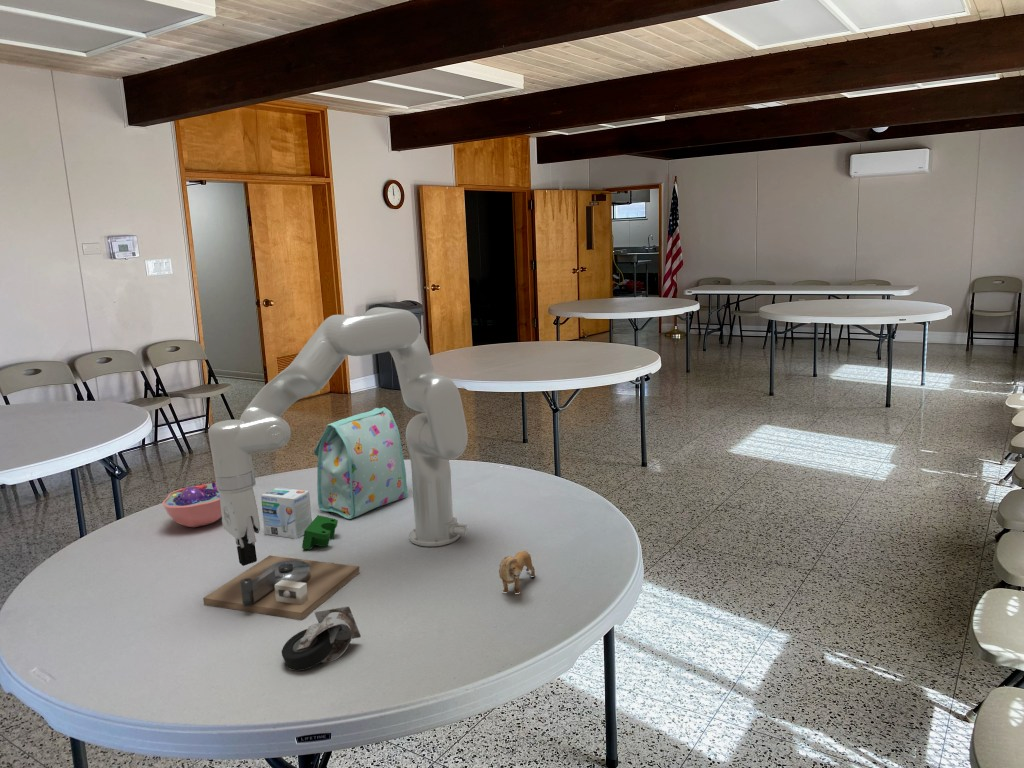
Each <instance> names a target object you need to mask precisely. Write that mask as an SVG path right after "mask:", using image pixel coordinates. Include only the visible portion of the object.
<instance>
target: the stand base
mask: <svg viewBox="0 0 1024 768" xmlns="http://www.w3.org/2000/svg"><path fill="white" fill-rule="evenodd" d="M292 560H297V561H304V562H306V563H308V564H309V566H310V574H311V576H310V578H309V580H307V581H306V582H305V583H302V582H295V581H287V580H281V581H279V582H278V583H276V584H275V589H273V590H271V591H270V592H268V593H267V594H266V595H264V596H263V597H261V598H260V599H258V600H257V601H256V602H254V604H253V605H251V606H247V607H245V606H243V602H242V593H241V584H240V581H241V580H243V579H247V578H250V579H252V580H254V579H255V578H257V577H258V576H260V575H261V574H262V572H263V570H264V569H266V568H267V567H269V566H271V565H273V564H276V563H279V562H284V561H292ZM359 574H360V566H359V565H358V566H357V565H350V564H343V563H335V562H324V561H317V560H309V559H301V558H293V557H286V556H285V557H284V556H278V555H268V556H267V557H264V559H262V560H260V561H258V562H257V563H256V564H253V565H252V566H251V567H249V568H248V569H246V570H245V571H243V572H242V573H240V574H238V575H236V576H235V577H234V578H232V579H231V580H229V581H228V582H225V584H222V585H221V586H220V587H218V588H216V589H214V590H213V591H211V592H210V593H209V594H207V595H205V596H204V597H203V598H202V600H203V601H202V602H203V605H204V606H211V607H215V608H216V607H218V608H224V609H230V610H231V609H232V610H237V611H244V612H249V613H255V614H256V613H257V614H263V615H269V616H275V617H276V616H277V617H281V618H286V619H287V618H289V619H295V620H300V621H302V620H303V619H305V618H306V617H308V616H309V615H310V614H311V613H312V612H313V611H314V610H316V609H317V608H318V607H320V606H321V605H322V604H323V603H324V602H325V601H327V600H328V599H329V598H330V597H332V596H333V595H335V593H336V592H338V591H339V590H341V588H343V587H344V586H345V585H347V584H348V583H349V582H350V581H352V579H354V578H355V577H356V576H357V575H359Z"/></svg>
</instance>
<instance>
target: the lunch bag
mask: <svg viewBox="0 0 1024 768" xmlns="http://www.w3.org/2000/svg"><path fill="white" fill-rule="evenodd" d="M402 447H403V446H402V441H401V435H400V431H399V427H398V425H397V423H396V421H395V418H394V416H393V414H392V411H390V410H389V409H388V408H386V407H385V406H383V407H381V408H379V407H375V408H373V409H372V410H370V411H366V412H362V413H358V414H355V415H352V416H349V417H346V418H343V419H339V420H337V421H334V422H332V423H328V424H327V425H326V427H325V428H324V431H323V433H322V435H321V437H320V438H319V440H318V442H317V444H316V446H315V449H314V450H313V453H314V454H313V455H314V456H316V457H317V472H316V473H317V475H316V476H317V480H316V481H317V483H316V486H317V489H316V491H317V505H318V508H319V510H321V511H323V512H331V513H335V514H337V515H340V516H341V517H343V518H345V519H347V520H348V519H349V520H351V519H353V518H356V517H359V516H361V515H363V514H365V513H367V512H369V511H372V510H374V509H376V508H379V507H382V506H384V505H388V504H390V503H391V504H392V503H393V502H396V501H399V500H403V499H406V498H407V496H408V488H407V486H408V485H407V484H408V483H407V472H406V471H407V470H406V465H405V459H404V452H403V448H402Z"/></svg>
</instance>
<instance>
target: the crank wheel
mask: <svg viewBox="0 0 1024 768" xmlns="http://www.w3.org/2000/svg"><path fill="white" fill-rule="evenodd" d="M310 576H311V574H310V566H309V564H308V563H306V562H304V561H297V560H292V561H284V562H279V563H276V564H273V565H271V566H269V567H267V568H266V569H264V570H263V572H262V574H261V575H260V576H258V577H257V578H255V579H254V580H252V579H250V578H247V579H243V580H241V581H240V584H241V593H242V602H243V606H245V607H247V606H251V605H253V604H254V602H256V601H257V600H258V599H260V598H261V597H263V596H264V595H266V594H267V593H268V592H270V591H271V590H273V589H275V584H276V583H278V582H279V581H281V580H287V581H295V582H302V583H305V582H306V581H307V580H309V578H310Z"/></svg>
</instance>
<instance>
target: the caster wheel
mask: <svg viewBox="0 0 1024 768" xmlns="http://www.w3.org/2000/svg"><path fill="white" fill-rule="evenodd" d="M314 615H315V617H316V620H317V623H313V624H312V625H309V626H308V628H306V629H303V630H300V631H299V632H297V633H296V634H294V635H292V636H291V637H290V638H288V640H287V641H286V642H285V644H284V645H283V647H282V649H281V656H282V658H283V660H284V663H285V665H286V667H287V669H290V670H292V671H304V670H307V669H310V668H312V667H315V666H316V665H318V664H320V663H323V664H324V663H325V664H326V663H331V662H334V661H336V660H337V659H339V658H340V657H341V656H342V655H343V654H344V653H345V652H346V650H347V649H348V648H349V645H350V643H351V641H352V639H353V640H354V639H359V638H361V633H360V629H359V628H358V625H357V623H356V620H355V618H354V614H353V613H352V611H351V608H350V606H343V607H342V606H341V607H337V608H331V609H324V610H319V611H316V612H314Z"/></svg>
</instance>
